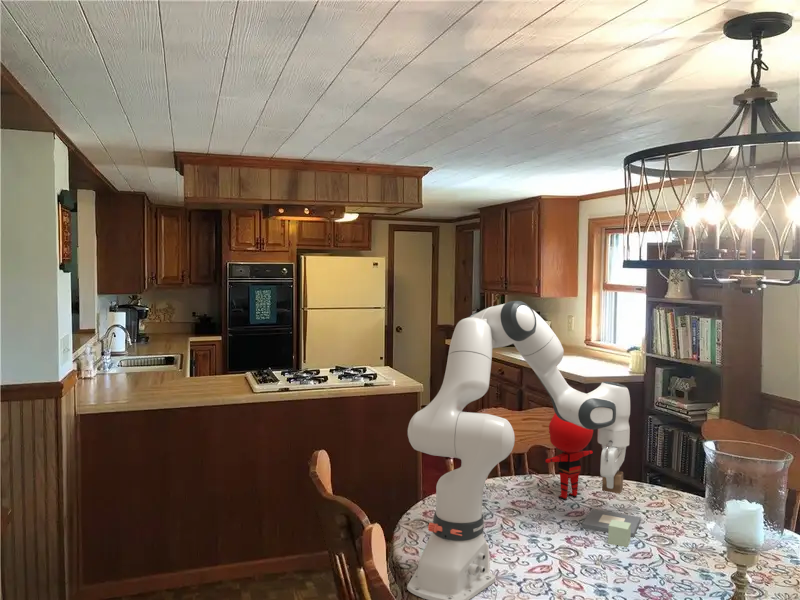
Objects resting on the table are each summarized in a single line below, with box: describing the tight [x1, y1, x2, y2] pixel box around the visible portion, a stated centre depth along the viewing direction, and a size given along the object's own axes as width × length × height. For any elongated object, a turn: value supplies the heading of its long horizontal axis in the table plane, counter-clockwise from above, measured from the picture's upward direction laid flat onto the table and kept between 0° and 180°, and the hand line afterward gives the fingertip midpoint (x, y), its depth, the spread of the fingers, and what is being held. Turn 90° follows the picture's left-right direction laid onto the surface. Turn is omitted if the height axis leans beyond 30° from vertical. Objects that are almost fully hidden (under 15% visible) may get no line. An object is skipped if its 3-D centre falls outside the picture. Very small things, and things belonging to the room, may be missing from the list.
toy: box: [545, 412, 594, 501], centre depth 204 cm, size 22×14×30 cm, turn 123°
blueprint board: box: [581, 508, 642, 539], centre depth 182 cm, size 14×14×1 cm
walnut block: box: [601, 470, 624, 495], centre depth 182 cm, size 5×5×5 cm
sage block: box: [607, 520, 632, 548], centre depth 170 cm, size 5×5×5 cm
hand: (612, 484), depth 182 cm, fingers closed on walnut block, 5 cm apart
